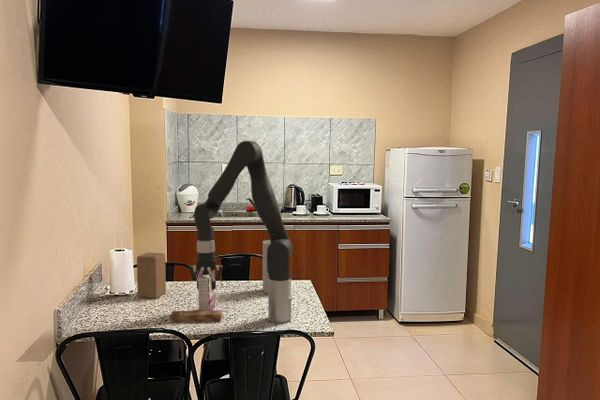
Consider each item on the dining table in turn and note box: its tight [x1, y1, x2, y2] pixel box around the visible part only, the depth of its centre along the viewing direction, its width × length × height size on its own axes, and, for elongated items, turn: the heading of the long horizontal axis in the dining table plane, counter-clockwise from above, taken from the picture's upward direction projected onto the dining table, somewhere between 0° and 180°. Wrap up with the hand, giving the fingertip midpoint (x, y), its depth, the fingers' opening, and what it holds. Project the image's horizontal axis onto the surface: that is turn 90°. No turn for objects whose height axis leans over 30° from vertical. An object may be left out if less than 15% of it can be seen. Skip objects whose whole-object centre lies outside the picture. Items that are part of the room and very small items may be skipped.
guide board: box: [169, 310, 223, 323], centre depth 191 cm, size 20×5×3 cm, turn 94°
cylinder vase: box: [262, 239, 271, 295], centre depth 231 cm, size 12×12×25 cm
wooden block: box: [136, 251, 167, 300], centre depth 222 cm, size 10×10×20 cm
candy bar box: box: [197, 270, 216, 311], centre depth 199 cm, size 11×5×16 cm, turn 179°
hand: (206, 289), depth 199 cm, fingers closed on candy bar box, 5 cm apart
